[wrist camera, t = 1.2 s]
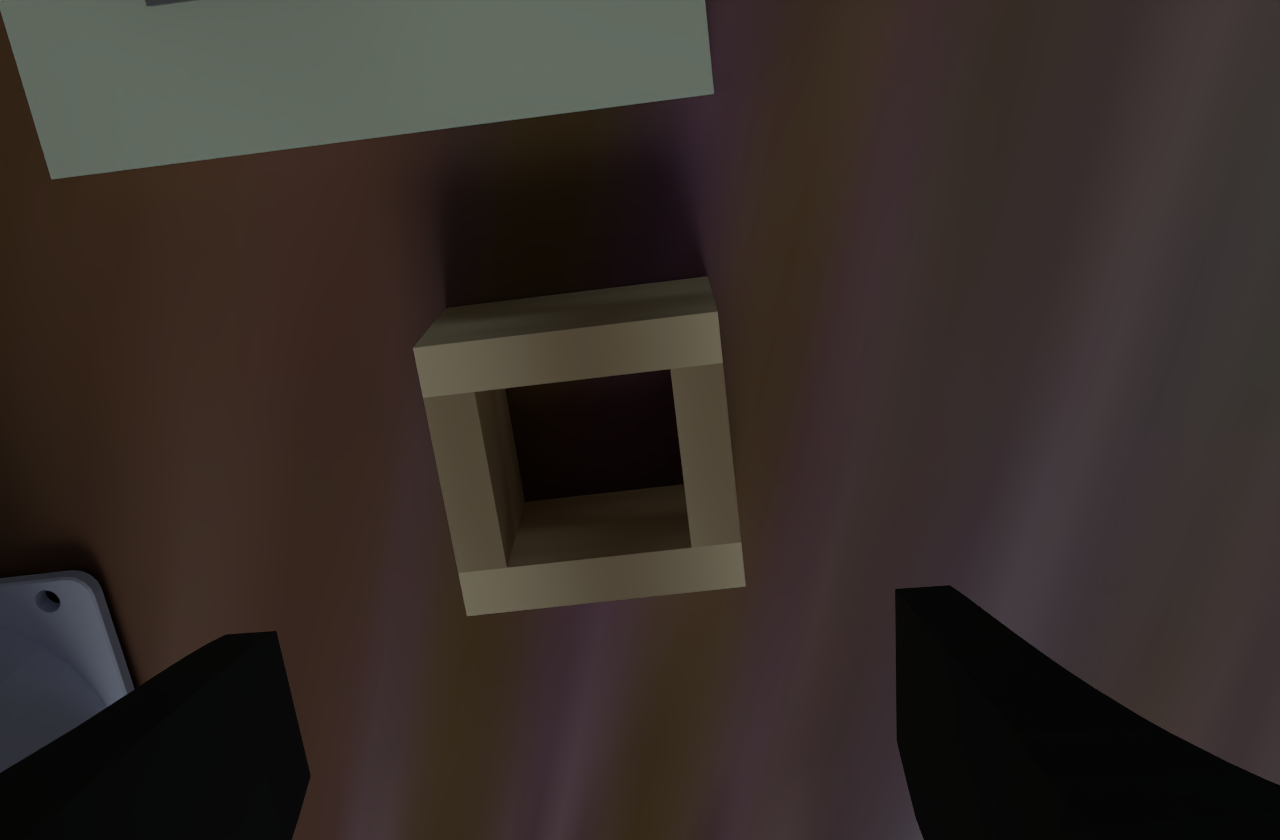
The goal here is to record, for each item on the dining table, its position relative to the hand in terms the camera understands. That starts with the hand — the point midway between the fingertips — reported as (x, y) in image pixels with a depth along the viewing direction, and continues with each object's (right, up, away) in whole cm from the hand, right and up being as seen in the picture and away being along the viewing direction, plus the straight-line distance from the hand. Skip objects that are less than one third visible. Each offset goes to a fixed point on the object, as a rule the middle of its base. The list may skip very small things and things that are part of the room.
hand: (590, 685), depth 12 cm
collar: (0, +3, +9) cm, 10 cm away
